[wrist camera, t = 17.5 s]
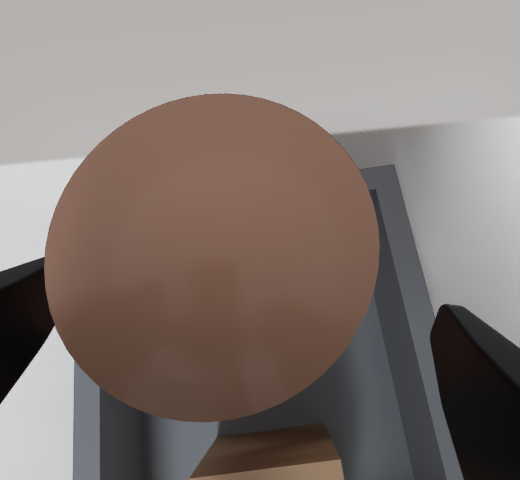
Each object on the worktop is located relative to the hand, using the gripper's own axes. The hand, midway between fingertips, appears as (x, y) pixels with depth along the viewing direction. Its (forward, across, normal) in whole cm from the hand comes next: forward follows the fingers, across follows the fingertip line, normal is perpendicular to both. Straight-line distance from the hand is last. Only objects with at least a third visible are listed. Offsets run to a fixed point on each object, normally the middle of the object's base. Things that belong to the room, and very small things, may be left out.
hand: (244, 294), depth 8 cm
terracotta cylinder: (+7, 0, +6) cm, 10 cm away
